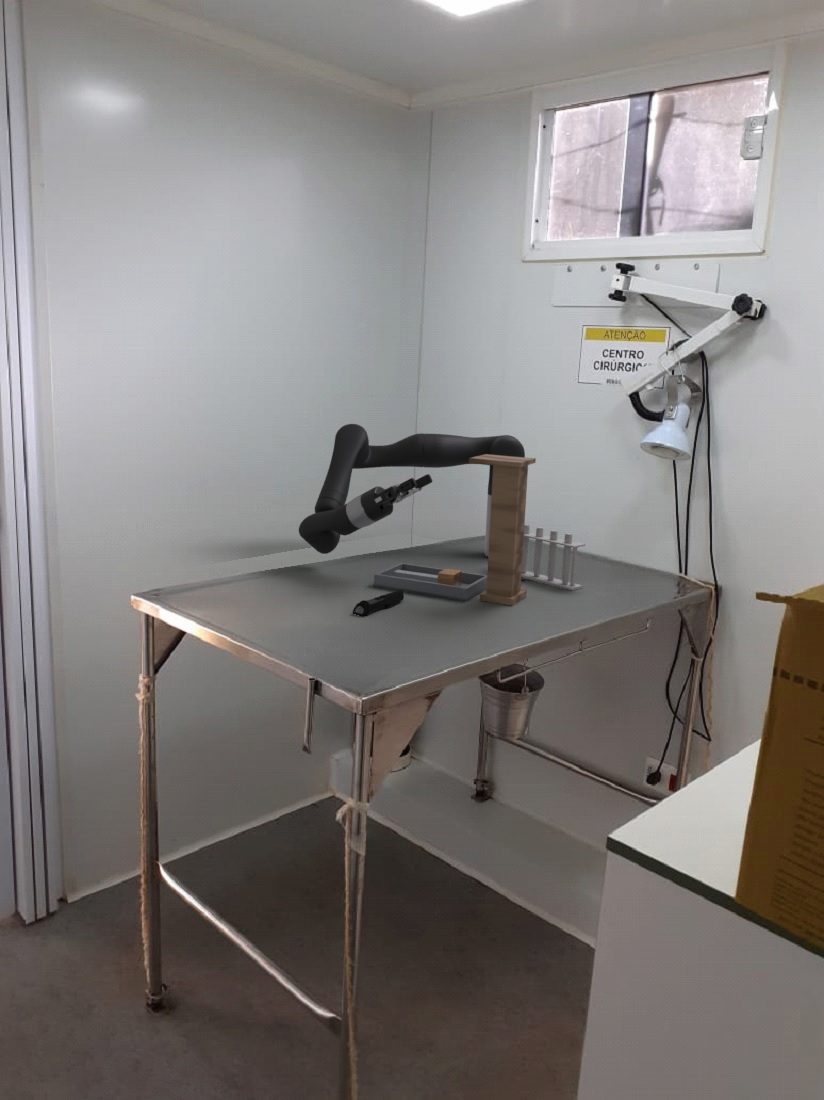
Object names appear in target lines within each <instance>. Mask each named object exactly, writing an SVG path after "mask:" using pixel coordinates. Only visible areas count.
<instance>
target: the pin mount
mask: <svg viewBox="0 0 824 1100" xmlns="http://www.w3.org/2000/svg"><path fill="white" fill-rule="evenodd" d="M469 463H478V464H477V465H482V464H489V465H488V466H490V465H493V478H492V498H491V517H490V536H489V555H488V557H487V559H488V560H487V574H486V575H487V589H486V590H485V591H483V592H481V593H480V594H479V601H480V602H481V601H482V602H486V601H487V602H486V603H492V602H493V603H494V604H498V603H500V604H499V605H504V604H507V605H506V606H510V605H514V606H515V605H516V604H518V603H519V602H521V601H522V600H524V599H525V598H526V597H527V592H528V591H527V589H521V588H522V578H521V573H522V557H523V541H524V524H526V523H525V521H526V505H527V487H528V486H527V485H528V471H529V465H532V464H536V457H534V458H533V457H526V456H525V457H513V456H501V455H489V454H485V455H480V456H476V457H472V458H469ZM523 598H524V599H523ZM520 600H521V601H520ZM517 602H518V603H517ZM493 603H492V604H493Z"/></svg>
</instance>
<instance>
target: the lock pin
mask: <svg viewBox="0 0 824 1100" xmlns="http://www.w3.org/2000/svg"><path fill="white" fill-rule="evenodd" d="M443 569H444V570H443V571H441V572H439V573H438V575H432V574H425V573H418V572H411V571H404V570H396V571H394V577H401V578H407V579H413V580H420V581H426V582H433V583H439V584H446V585H452V586H459V587H461V579H462V572H463V570H459V569H452V568H443Z"/></svg>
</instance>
